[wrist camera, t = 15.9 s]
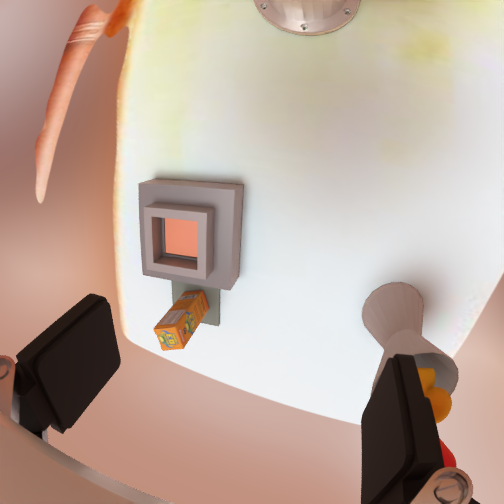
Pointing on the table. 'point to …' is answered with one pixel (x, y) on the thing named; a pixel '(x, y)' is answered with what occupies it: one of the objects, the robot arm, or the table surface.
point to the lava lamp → (411, 346)
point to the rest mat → (211, 297)
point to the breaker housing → (209, 230)
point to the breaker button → (181, 237)
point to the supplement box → (181, 320)
